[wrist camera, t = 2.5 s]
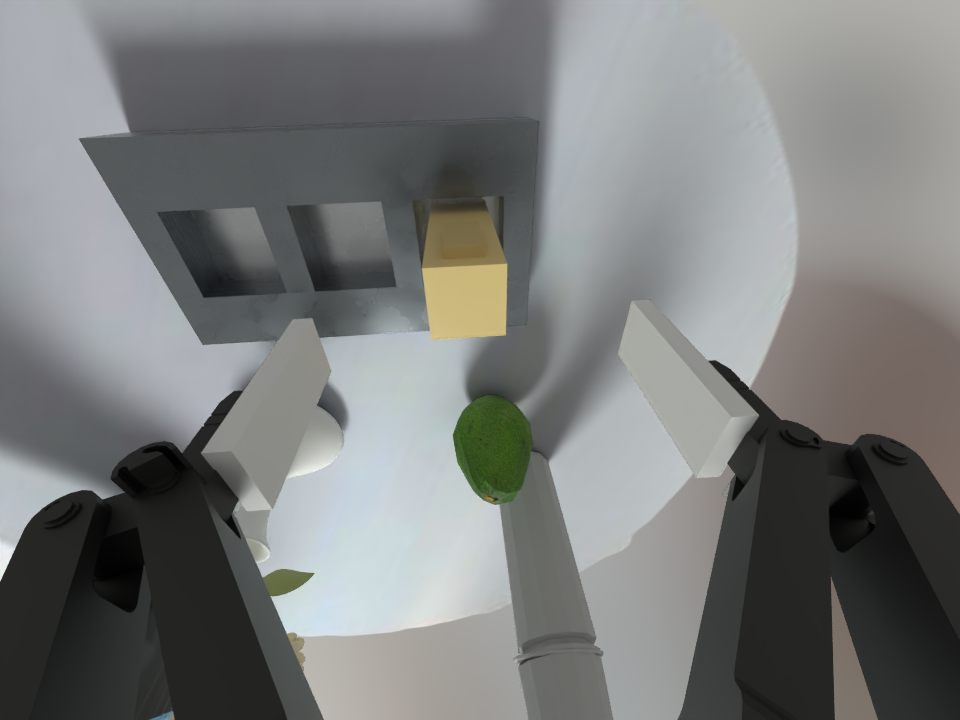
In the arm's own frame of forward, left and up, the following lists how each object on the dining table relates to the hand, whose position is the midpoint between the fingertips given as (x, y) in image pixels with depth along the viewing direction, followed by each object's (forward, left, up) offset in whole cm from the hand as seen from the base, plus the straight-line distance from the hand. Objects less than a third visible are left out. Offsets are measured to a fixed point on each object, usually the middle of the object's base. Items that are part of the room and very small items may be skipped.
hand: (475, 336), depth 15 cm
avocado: (+2, -20, -17) cm, 26 cm away
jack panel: (-8, 0, -16) cm, 18 cm away
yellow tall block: (0, 0, -15) cm, 15 cm away
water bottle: (+6, -32, -17) cm, 37 cm away
